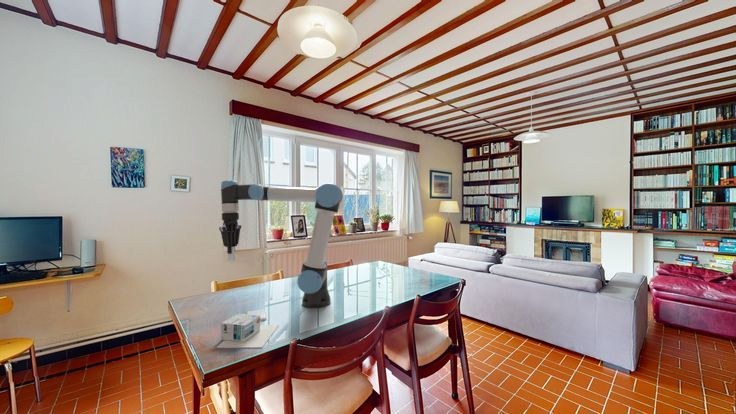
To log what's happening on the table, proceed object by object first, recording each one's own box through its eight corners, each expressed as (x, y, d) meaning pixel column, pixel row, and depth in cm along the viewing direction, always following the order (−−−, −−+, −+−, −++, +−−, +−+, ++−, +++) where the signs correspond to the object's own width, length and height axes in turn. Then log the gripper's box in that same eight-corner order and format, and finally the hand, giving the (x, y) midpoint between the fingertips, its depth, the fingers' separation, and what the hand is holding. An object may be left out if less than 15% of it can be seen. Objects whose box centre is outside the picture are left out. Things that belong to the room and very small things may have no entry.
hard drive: (247, 311, 136) (247, 320, 125) (264, 308, 139) (266, 317, 128) (247, 314, 136) (247, 324, 125) (264, 312, 139) (266, 321, 128)
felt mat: (278, 325, 122) (278, 325, 122) (262, 347, 103) (262, 347, 103) (240, 325, 122) (240, 325, 122) (216, 347, 103) (216, 347, 103)
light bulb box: (219, 339, 108) (244, 343, 106) (220, 322, 108) (244, 325, 106) (238, 328, 119) (260, 331, 116) (238, 312, 119) (261, 315, 116)
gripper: (233, 212, 144) (234, 257, 144) (213, 212, 131) (215, 262, 131) (245, 211, 142) (246, 257, 142) (227, 212, 130) (228, 262, 130)
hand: (231, 259), depth 137 cm, fingers closed
